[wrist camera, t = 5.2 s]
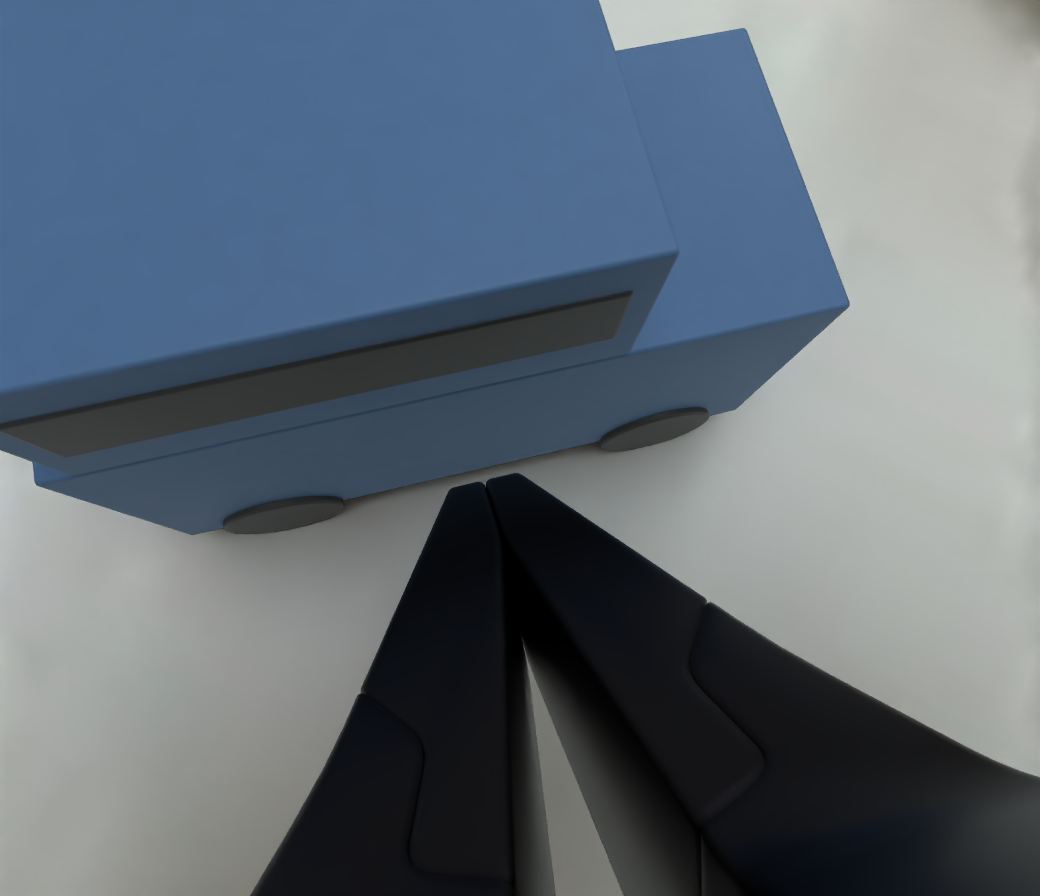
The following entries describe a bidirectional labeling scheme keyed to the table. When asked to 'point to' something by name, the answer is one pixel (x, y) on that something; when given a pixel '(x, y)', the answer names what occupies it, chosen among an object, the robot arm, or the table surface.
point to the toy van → (378, 246)
